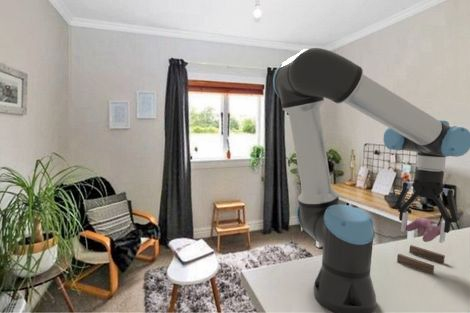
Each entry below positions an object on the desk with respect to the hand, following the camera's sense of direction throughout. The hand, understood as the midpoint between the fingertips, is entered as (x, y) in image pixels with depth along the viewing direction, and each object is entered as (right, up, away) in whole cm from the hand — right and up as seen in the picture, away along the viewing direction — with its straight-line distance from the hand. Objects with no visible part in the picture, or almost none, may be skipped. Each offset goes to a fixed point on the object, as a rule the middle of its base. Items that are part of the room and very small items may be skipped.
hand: (421, 235), depth 92 cm
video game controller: (0, 0, 0) cm, 1 cm away
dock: (0, -9, +1) cm, 9 cm away
